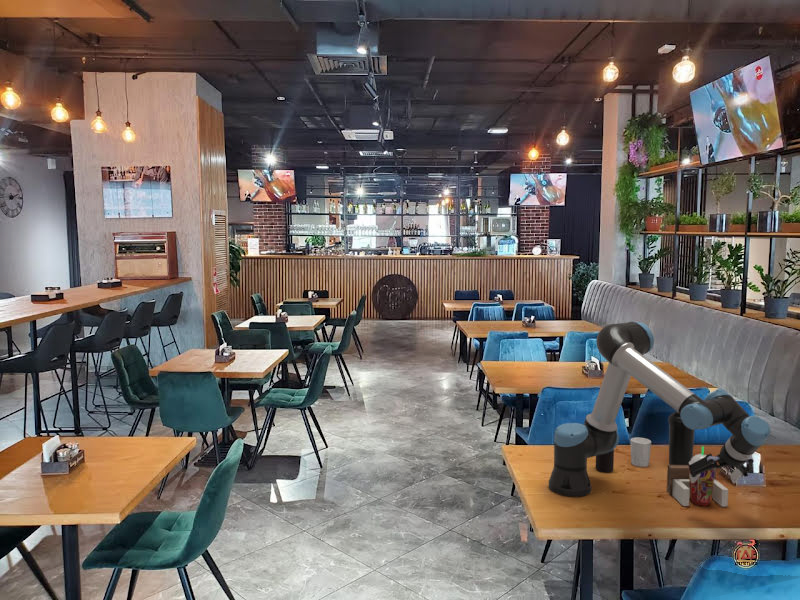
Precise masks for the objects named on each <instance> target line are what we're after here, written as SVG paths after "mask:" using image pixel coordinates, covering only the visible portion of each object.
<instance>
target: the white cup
mask: <svg viewBox="0 0 800 600" xmlns="http://www.w3.org/2000/svg"><path fill="white" fill-rule="evenodd" d="M651 449H652V441H651V440H650V439H649V438H645V437H632V438H630V461H631V462H630V463H631V464H632V465H633V466H635V467H639V468H647V467H649V465H650V459H651Z"/></svg>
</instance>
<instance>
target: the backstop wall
mask: <svg viewBox="0 0 800 600" xmlns="http://www.w3.org/2000/svg"><path fill="white" fill-rule="evenodd" d="M666 474H667V475H666V493H668V495H670V496H672V490H673V479H689V465H669V464H667V472H666ZM714 480H717V468H715V475H714Z"/></svg>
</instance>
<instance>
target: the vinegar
mask: <svg viewBox="0 0 800 600" xmlns="http://www.w3.org/2000/svg"><path fill="white" fill-rule="evenodd" d="M614 452H615V449H614V450H612V451H610V452H608V453H606V454H601V455H597V456H595V470H596V471H597V472H600V473H605V474H609V473H612V472H614V461H615V460H614V459H615V453H614Z"/></svg>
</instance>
